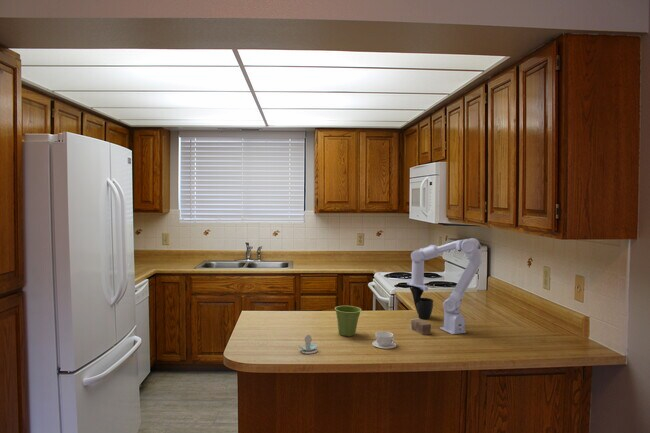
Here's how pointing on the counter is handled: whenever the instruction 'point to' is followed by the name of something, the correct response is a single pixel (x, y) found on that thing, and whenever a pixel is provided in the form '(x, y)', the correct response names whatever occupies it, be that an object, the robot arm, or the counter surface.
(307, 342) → the pacifier
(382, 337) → the teacup
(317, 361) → the counter surface
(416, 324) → the walnut block
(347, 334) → the plant pot
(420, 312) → the mug
